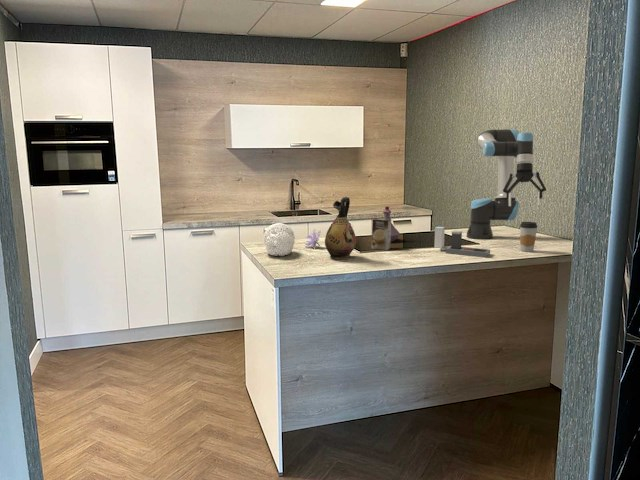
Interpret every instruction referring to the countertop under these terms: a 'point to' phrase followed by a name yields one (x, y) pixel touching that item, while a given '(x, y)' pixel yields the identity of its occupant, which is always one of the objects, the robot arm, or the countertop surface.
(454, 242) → the twin plug
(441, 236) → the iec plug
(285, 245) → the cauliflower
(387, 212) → the flask
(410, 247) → the countertop surface
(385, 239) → the coffee box
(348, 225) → the ceramic jug
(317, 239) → the water lily
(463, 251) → the pdu strip
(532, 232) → the coffee cup
